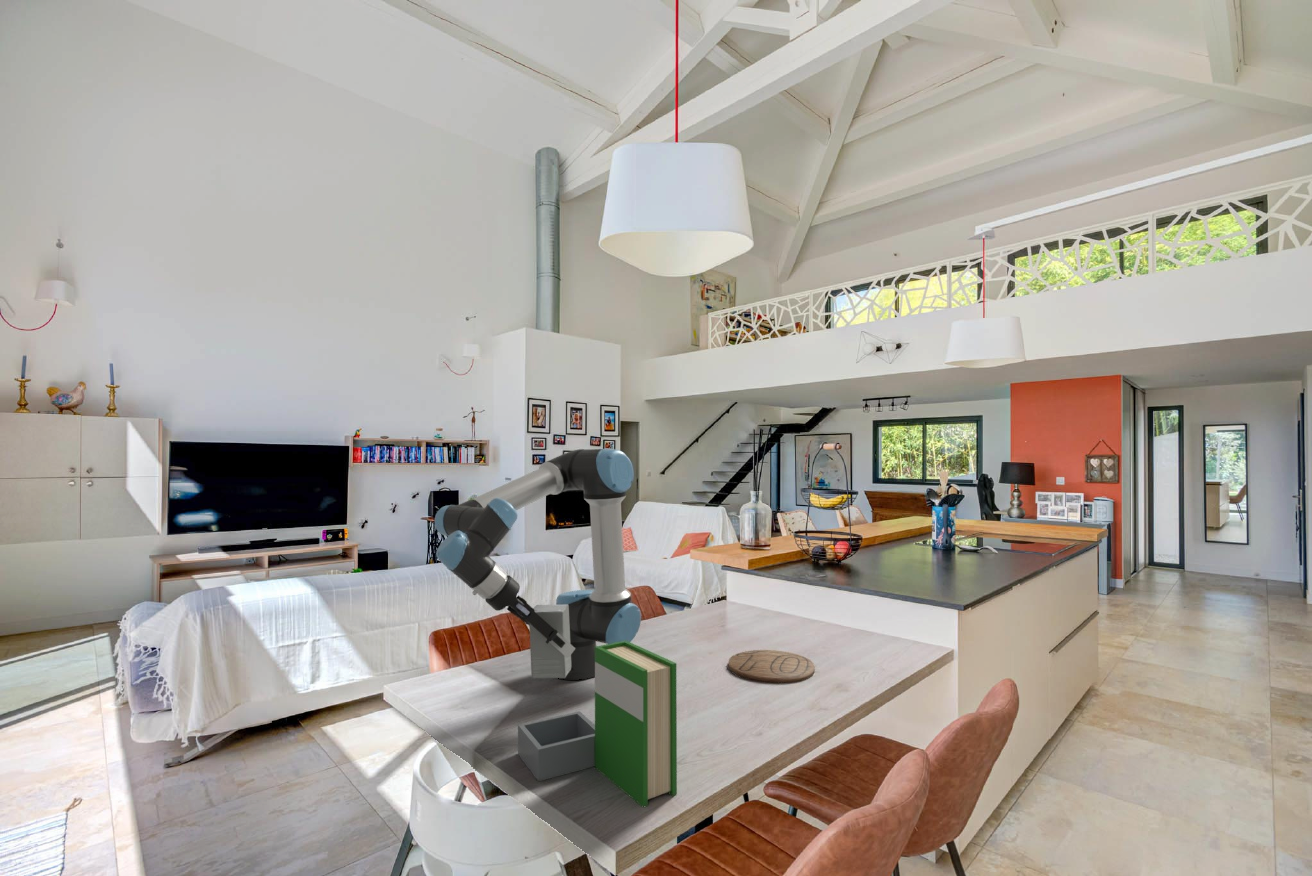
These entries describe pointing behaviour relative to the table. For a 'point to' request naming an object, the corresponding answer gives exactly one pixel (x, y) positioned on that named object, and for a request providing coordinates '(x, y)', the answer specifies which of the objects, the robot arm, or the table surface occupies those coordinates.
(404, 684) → the table surface
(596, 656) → the hardback book
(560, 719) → the bin
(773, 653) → the trivet
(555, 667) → the skincare box
